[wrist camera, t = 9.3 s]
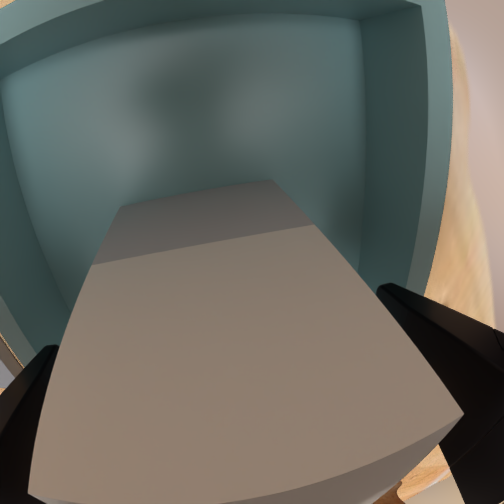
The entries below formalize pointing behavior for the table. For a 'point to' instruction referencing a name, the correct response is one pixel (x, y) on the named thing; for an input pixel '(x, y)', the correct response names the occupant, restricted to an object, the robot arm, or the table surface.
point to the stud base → (7, 366)
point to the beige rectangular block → (231, 366)
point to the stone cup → (390, 496)
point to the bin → (216, 130)
